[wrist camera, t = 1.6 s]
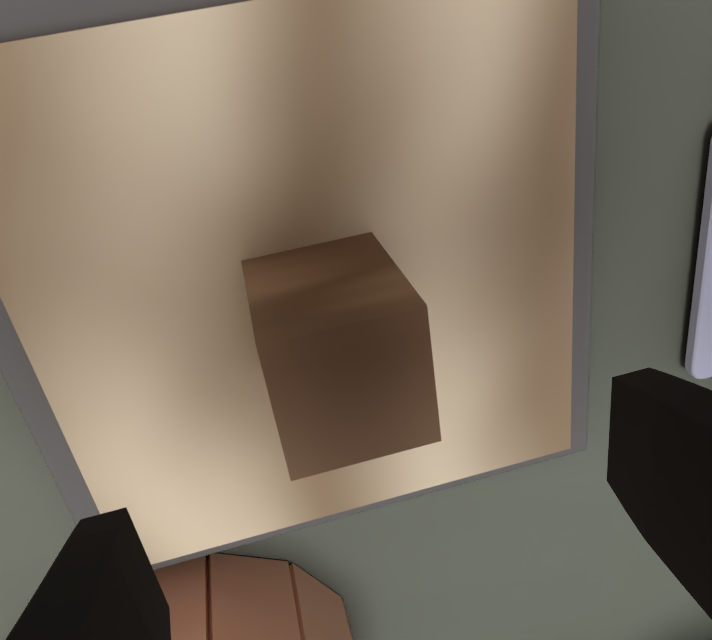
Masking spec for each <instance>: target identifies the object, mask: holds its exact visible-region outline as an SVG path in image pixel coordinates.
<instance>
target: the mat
mask: <svg viewBox="0 0 712 640" xmlns="http://www.w3.org/2000/svg"><path fill="white" fill-rule="evenodd" d="M243 1H249V0H0V43H1V42H7V41H13V40H19V39H25V38H31V37H37V36H43V35H49V34H54V33H60V32H66V31H72V30H78V29H84V28H90V27H96V26H102V25H107V24H113V23H119V22H125V21H131V20H137V19H143V18H149V17H155V16H160V15H166V14H172V13H178V12H184V11H190V10H196V9H202V8H207V7H213V6H219V5H225V4H231V3H237V2H243ZM599 25H600V0H578V3H577V67H576V131H575V194H574V258H573V322H572V386H571V448H570V449H567V450H563V451H560V452H556V453H552V454H549V455H545V456H542V457H538V458H534V459H531V460H527V461H524V462H520V463H516V464H513V465H509V466H506V467H502V468H498V469H495V470H491V471H487V472H484V473H480V474H477V475H473V476H469V477H466V478H462V479H459V480H455V481H451V482H448V483H444V484H441V485H437V486H433V487H430V488H426V489H423V490H419V491H415V492H412V493H408V494H405V495H401V496H397V497H394V498H390V499H386V500H383V501H379V502H376V503H372V504H368V505H365V506H361V507H358V508H354V509H350V510H347V511H343V512H340V513H336V514H332V515H329V516H325V517H322V518H318V519H314V520H311V521H307V522H303V523H300V524H296V525H293V526H289V527H285V528H282V529H278V530H275V531H271V532H267V533H264V534H260V535H257V536H253V537H249V538H246V539H242V540H239V541H235V542H231V543H228V544H224V545H221V546H217V547H213V548H210V549H206V550H202V551H199V552H195V553H192V554H188V555H184V556H181V557H177V558H174V559H170V560H166V561H163V562H159V563H156V564H152V565H151V566H152V568H153V570H155V569H159V568H162V567H166V566H169V565H173V564H177V563H180V562H184V561H187V560H191V559H194V558H198V557H202V556H205V555H209V554H212V553H216V552H220V551H223V550H227V549H230V548H234V547H238V546H241V545H245V544H248V543H252V542H256V541H259V540H263V539H266V538H270V537H274V536H277V535H281V534H284V533H288V532H291V531H295V530H299V529H302V528H306V527H309V526H313V525H317V524H320V523H324V522H327V521H331V520H335V519H338V518H342V517H345V516H349V515H353V514H356V513H360V512H363V511H367V510H371V509H374V508H378V507H381V506H385V505H389V504H392V503H396V502H399V501H403V500H406V499H410V498H414V497H417V496H421V495H424V494H428V493H432V492H435V491H439V490H442V489H446V488H450V487H453V486H457V485H460V484H464V483H468V482H471V481H475V480H478V479H482V478H486V477H489V476H493V475H496V474H500V473H503V472H507V471H511V470H514V469H518V468H521V467H525V466H529V465H532V464H536V463H539V462H543V461H547V460H550V459H554V458H557V457H561V456H565V455H568V454H572V453H575V452H579V451H583V450H586V446H587V414H588V381H589V349H590V317H591V284H592V252H593V219H594V187H595V154H596V122H597V89H598V57H599ZM0 370H1V372H2V374H3V376H4V378H5V380H6V382H7V384H8V386H9V388H10V391H11V393H12V395H13V397H14V399H15V401H16V403H17V405H18V407H19V409H20V411H21V413H22V415H23V417H24V419H25V421H26V423H27V425H28V427H29V429H30V431H31V433H32V435H33V437H34V440H35V442H36V444H37V446H38V448H39V450H40V452H41V454H42V456H43V458H44V460H45V462H46V464H47V466H48V468H49V470H50V472H51V474H52V476H53V478H54V480H55V482H56V484H57V486H58V489H59V491H60V493H61V495H62V497H63V499H64V501H65V503H66V505H67V507H68V509H69V511H70V513H71V515H72V517H73V519H74V521H75V523H76V525H77V524H78V523H79V521H80V520H81V519H84V518H88V517H91V516H95V515H99V514H100V513H99V510H98V508H97V506H96V504H95V502H94V500H93V497H92V495H91V493H90V491H89V489H88V486H87V484H86V482H85V480H84V478H83V476H82V473H81V471H80V469H79V467H78V465H77V463H76V460H75V458H74V456H73V454H72V452H71V450H70V447H69V445H68V443H67V441H66V439H65V437H64V434H63V432H62V430H61V428H60V426H59V423H58V421H57V419H56V417H55V415H54V413H53V410H52V408H51V406H50V404H49V402H48V400H47V397H46V395H45V393H44V391H43V389H42V387H41V384H40V382H39V380H38V378H37V376H36V373H35V371H34V369H33V367H32V365H31V363H30V360H29V358H28V356H27V354H26V352H25V350H24V347H23V345H22V343H21V341H20V339H19V337H18V334H17V332H16V330H15V328H14V326H13V324H12V321H11V319H10V317H9V315H8V313H7V310H6V308H5V306H4V304H3V302H2V300H1V297H0Z"/></svg>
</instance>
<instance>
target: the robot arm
mask: <svg viewBox="0 0 712 640" xmlns="http://www.w3.org/2000/svg"><path fill="white" fill-rule="evenodd" d="M685 370H686V371H687V372H688V373H689V374H690V375H692V376H693V377H694V378H697V379H705V378H709V377H712V137H711V141H710V150H709V159H708V168H707V176H706V185H705V194H704V202H703V211H702V220H701V228H700V237H699V246H698V254H697V263H696V272H695V280H694V289H693V298H692V306H691V315H690V324H689V332H688V341H687V350H686V359H685ZM607 482H608V483H609V485H610V486H611V488H612V490H613V491H614V493H615V494H616V496H617V498H618V499H619V501H620V502H621V504H622V506H623V507H624V509H625V511H626V512H627V514H628V515H629V517H630V518H631V520H632V521H633V523H634V524H635V526H636V527H637V529H638V530H639V532H640V533H641V535H642V536H643V538H644V539H645V540H646V541H647V543H648V544H649V545H650V546H651V548H652V549H653V550H654V551H655V553H656V554H657V555H658V556H659V557H660V559H661V560H662V561H663V562H664V563H665V565H666V566H667V567H668V568H669V569H670V571H671V572H672V573H673V574H674V575H675V577H676V578H677V579H678V580H679V581H680V583H681V584H682V585H683V586H684V587H685V589H686V590H687V591H688V592H689V593H690V595H691V596H692V597H693V598H694V599H695V600H696V602H697V603H698V604H699V605H700V606H701V608H702V609H703V610H704V611H705V612H706V613H707V615H708V616H709V617H710V618H711V619H712V390H709V389H707V388H704V387H701V386H699V385H696V384H694V383H691V382H689V381H686V380H683V379H681V378H678V377H675V376H673V375H670V374H667V373H664V372H661V371H658V370H655V369H652V368H646V369H642V370H638V371H634V372H631V373H627V374H623V375H619V376H616V377H612V392H611V411H610V430H609V449H608V468H607ZM6 640H171V627H170V609H169V605H168V603H167V600H166V598H165V596H164V593H163V591H162V589H161V587H160V584H159V582H158V580H157V577H156V575H155V573H154V570H153V568H152V566H151V563H150V561H149V559H148V556H147V554H146V552H145V549H144V547H143V545H142V542H141V540H140V538H139V535H138V533H137V531H136V529H135V526H134V524H133V522H132V519H131V517H130V515H129V512H128V510H127V508H126V507H125V508H121V509H118V510H114V511H110V512H106V513H103V514H99V515H95V516H91V517H88V518H84V519H81V520H80V521H79V523H78V524H77V526H76V527H75V529H74V530H73V532H72V533H71V535H70V537H69V538H68V540H67V541H66V543H65V545H64V546H63V548H62V549H61V551H60V553H59V554H58V556H57V558H56V559H55V561H54V563H53V564H52V566H51V567H50V569H49V571H48V572H47V574H46V576H45V577H44V579H43V581H42V582H41V584H40V586H39V587H38V589H37V590H36V592H35V594H34V595H33V597H32V599H31V600H30V602H29V603H28V605H27V607H26V608H25V610H24V612H23V613H22V615H21V616H20V618H19V620H18V621H17V623H16V624H15V626H14V627H13V629H12V630H11V632H10V634H9V635H8V637H7V638H6Z"/></svg>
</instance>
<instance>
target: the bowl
mask: <svg viewBox="0 0 712 640" xmlns="http://www.w3.org/2000/svg"><path fill="white" fill-rule="evenodd" d="M154 573H155V575H156V577H157V580H158V582H159V584H160V587H161V589H162V591H163V593H164V596H165V598H166V600H167V603H168V605H169V609H170V627H171V640H353V637H352V633H351V629H350V625H349V621H348V617H347V613H346V609H345V605H344V601H343V600H342V598H341V596H339V595H338V594H336V593H335V592H333V591H332V590H331V589H329V588H328V587H326V586H325V585H323V584H322V583H321V582H319V581H318V580H316V579H315V578H313V577H312V576H311V575H309V574H308V573H306V572H305V571H303V570H302V569H301V568H299V567H298V566H296V565H295V564H293V563H292V564H291V565H289V564H288V561H280V560H271V559H262V558H253V557H244V556H235V555H226V554H217V553H212V554H210V556H209V558H208V561H207V558H206V555H205V556H202V557H198V558H194V559H191V560H187V561H184V562H180V563H177V564H173V565H169V566H166V567H162V568H159V569H155V570H154Z"/></svg>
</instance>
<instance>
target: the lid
mask: <svg viewBox="0 0 712 640" xmlns="http://www.w3.org/2000/svg"><path fill="white" fill-rule="evenodd" d="M577 3H578V0H249V1H243V2H237V3H231V4H225V5H219V6H213V7H207V8H202V9H196V10H190V11H184V12H178V13H172V14H166V15H160V16H155V17H149V18H143V19H137V20H131V21H125V22H119V23H113V24H107V25H102V26H96V27H90V28H84V29H78V30H72V31H66V32H60V33H54V34H49V35H43V36H37V37H31V38H25V39H19V40H13V41H7V42H1V43H0V297H1V300H2V302H3V304H4V306H5V308H6V310H7V313H8V315H9V317H10V319H11V321H12V324H13V326H14V328H15V330H16V332H17V334H18V337H19V339H20V341H21V343H22V345H23V347H24V350H25V352H26V354H27V356H28V358H29V360H30V363H31V365H32V367H33V369H34V371H35V373H36V376H37V378H38V380H39V382H40V384H41V387H42V389H43V391H44V393H45V395H46V397H47V400H48V402H49V404H50V406H51V408H52V410H53V413H54V415H55V417H56V419H57V421H58V423H59V426H60V428H61V430H62V432H63V434H64V437H65V439H66V441H67V443H68V445H69V447H70V450H71V452H72V454H73V456H74V458H75V460H76V463H77V465H78V467H79V469H80V471H81V473H82V476H83V478H84V480H85V482H86V484H87V486H88V489H89V491H90V493H91V495H92V497H93V500H94V502H95V504H96V506H97V508H98V510H99V513H100V514H103V513H106V512H110V511H114V510H118V509H121V508H125V507H126V508H127V510H128V512H129V515H130V517H131V519H132V522H133V524H134V526H135V529H136V531H137V533H138V535H139V538H140V540H141V542H142V545H143V547H144V549H145V552H146V554H147V556H148V559H149V561H150V563H151V565H152V564H156V563H159V562H163V561H166V560H170V559H174V558H177V557H181V556H184V555H188V554H192V553H195V552H199V551H202V550H206V549H210V548H213V547H217V546H221V545H224V544H228V543H231V542H235V541H239V540H242V539H246V538H249V537H253V536H257V535H260V534H264V533H267V532H271V531H275V530H278V529H282V528H285V527H289V526H293V525H296V524H300V523H303V522H307V521H311V520H314V519H318V518H322V517H325V516H329V515H332V514H336V513H340V512H343V511H347V510H350V509H354V508H358V507H361V506H365V505H368V504H372V503H376V502H379V501H383V500H386V499H390V498H394V497H397V496H401V495H405V494H408V493H412V492H415V491H419V490H423V489H426V488H430V487H433V486H437V485H441V484H444V483H448V482H451V481H455V480H459V479H462V478H466V477H469V476H473V475H477V474H480V473H484V472H487V471H491V470H495V469H498V468H502V467H506V466H509V465H513V464H516V463H520V462H524V461H527V460H531V459H534V458H538V457H542V456H545V455H549V454H552V453H556V452H560V451H563V450H567V449H570V448H571V386H572V322H573V258H574V194H575V131H576V67H577Z"/></svg>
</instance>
